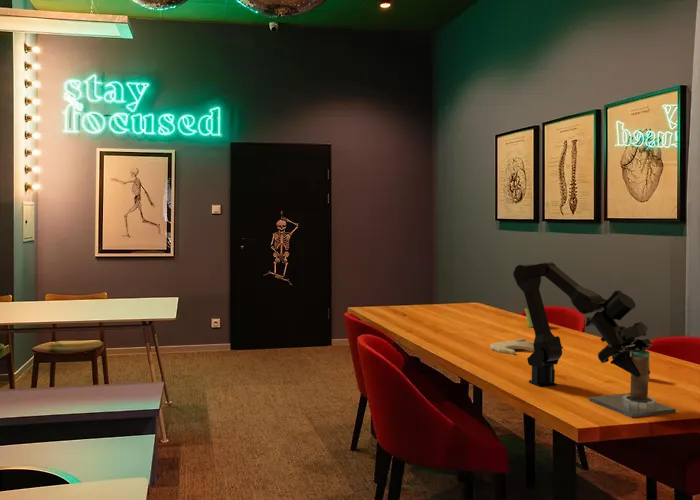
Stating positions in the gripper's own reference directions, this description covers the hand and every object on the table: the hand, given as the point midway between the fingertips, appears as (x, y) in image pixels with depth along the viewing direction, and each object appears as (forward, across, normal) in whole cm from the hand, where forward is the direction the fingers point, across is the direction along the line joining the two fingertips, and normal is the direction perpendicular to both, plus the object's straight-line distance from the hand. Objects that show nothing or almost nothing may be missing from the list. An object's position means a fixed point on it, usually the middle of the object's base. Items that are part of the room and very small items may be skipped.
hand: (644, 375), depth 178 cm
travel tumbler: (+4, 0, +6) cm, 7 cm away
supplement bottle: (-7, +34, +22) cm, 41 cm away
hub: (+4, +1, +10) cm, 11 cm away
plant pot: (-70, +87, +85) cm, 140 cm away
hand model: (-46, +34, +61) cm, 84 cm away
